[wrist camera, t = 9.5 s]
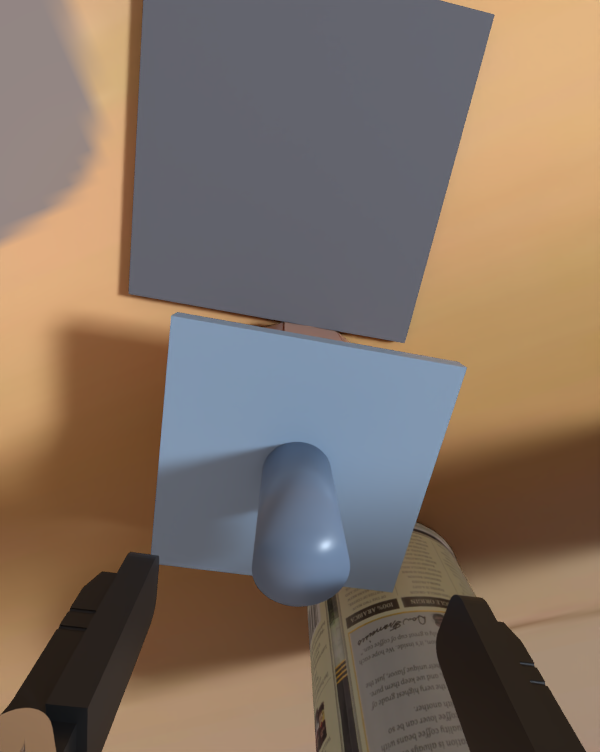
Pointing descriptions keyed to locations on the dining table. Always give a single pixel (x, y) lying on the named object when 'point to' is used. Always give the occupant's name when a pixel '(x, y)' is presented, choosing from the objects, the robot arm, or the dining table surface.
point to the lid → (295, 456)
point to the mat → (298, 154)
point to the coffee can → (387, 659)
